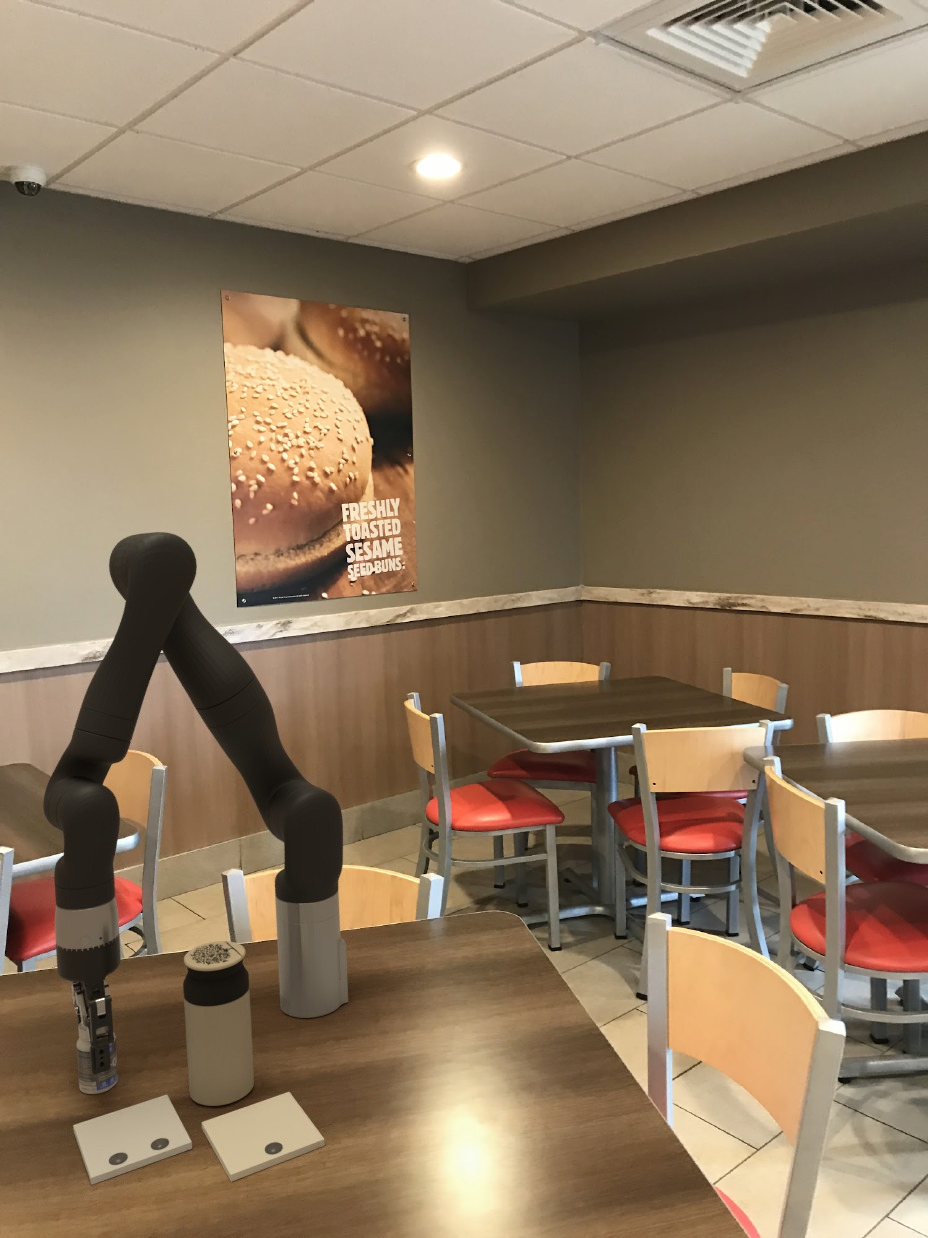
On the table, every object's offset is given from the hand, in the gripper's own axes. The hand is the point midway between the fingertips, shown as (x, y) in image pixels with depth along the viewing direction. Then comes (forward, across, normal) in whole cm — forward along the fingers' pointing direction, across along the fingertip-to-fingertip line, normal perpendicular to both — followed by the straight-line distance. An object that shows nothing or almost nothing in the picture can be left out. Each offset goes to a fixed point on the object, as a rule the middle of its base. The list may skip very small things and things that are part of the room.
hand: (94, 1055), depth 123 cm
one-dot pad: (+4, -22, -14) cm, 27 cm away
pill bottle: (+4, 0, 0) cm, 4 cm away
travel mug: (+4, -10, -13) cm, 17 cm away
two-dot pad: (+4, -14, -1) cm, 15 cm away
